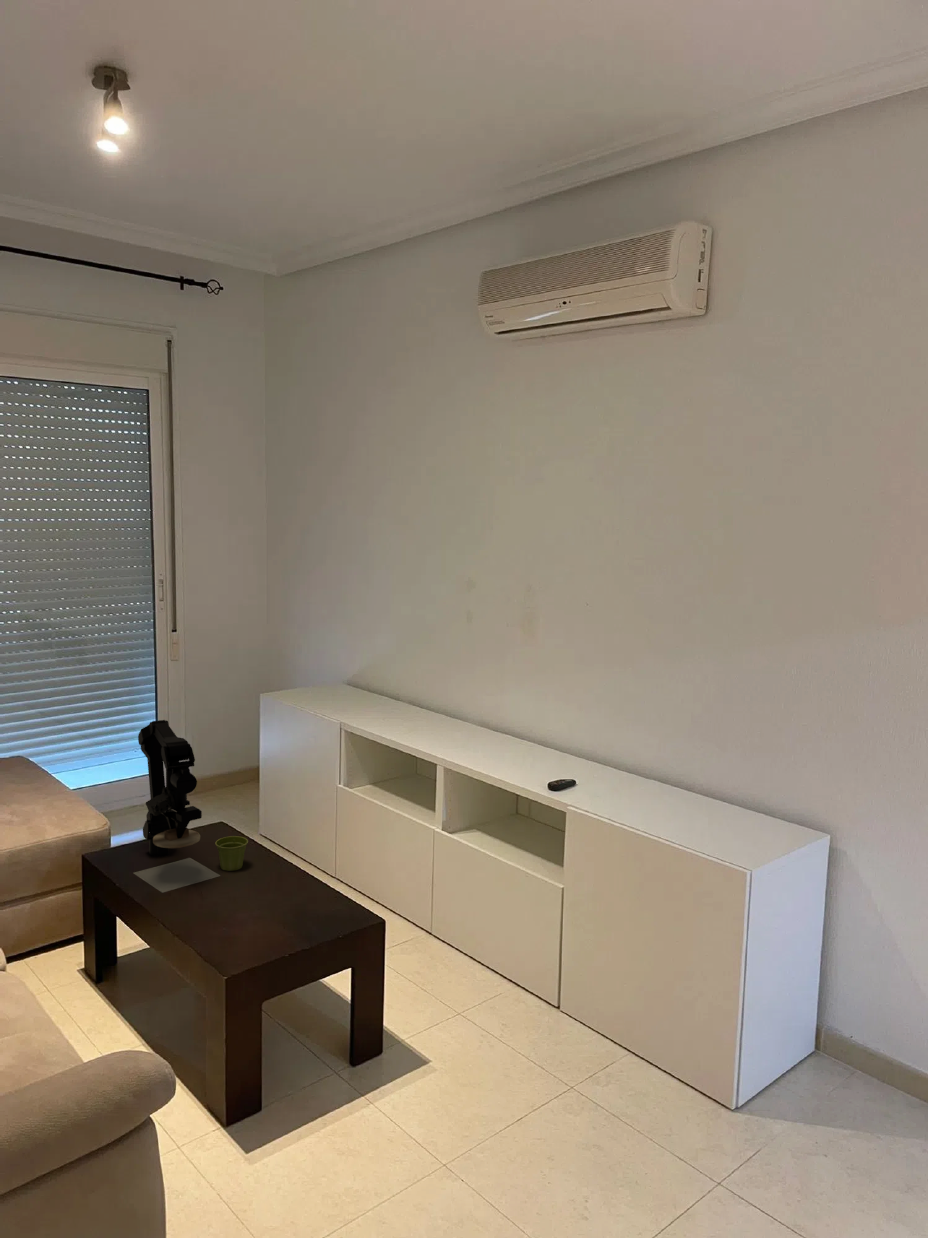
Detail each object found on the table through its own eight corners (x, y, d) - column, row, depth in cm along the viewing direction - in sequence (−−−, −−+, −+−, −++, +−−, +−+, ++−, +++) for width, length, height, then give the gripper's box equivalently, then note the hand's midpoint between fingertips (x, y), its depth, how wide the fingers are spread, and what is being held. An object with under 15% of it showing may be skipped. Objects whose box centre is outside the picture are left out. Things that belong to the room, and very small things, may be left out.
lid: (144, 839, 261) (144, 829, 260) (186, 828, 270) (186, 819, 269) (166, 851, 252) (166, 841, 251) (208, 840, 261) (208, 830, 260)
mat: (132, 876, 262) (132, 873, 262) (189, 860, 275) (189, 857, 275) (162, 896, 249) (162, 892, 249) (220, 879, 262) (220, 875, 262)
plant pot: (250, 874, 267) (250, 845, 266) (217, 877, 263) (217, 849, 262) (245, 862, 275) (245, 834, 274) (213, 865, 272) (213, 838, 271)
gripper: (134, 781, 260) (135, 834, 261) (165, 797, 247) (165, 852, 248) (170, 774, 267) (171, 825, 269) (202, 789, 254) (202, 843, 256)
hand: (176, 836), depth 261 cm, fingers closed on lid, 3 cm apart
